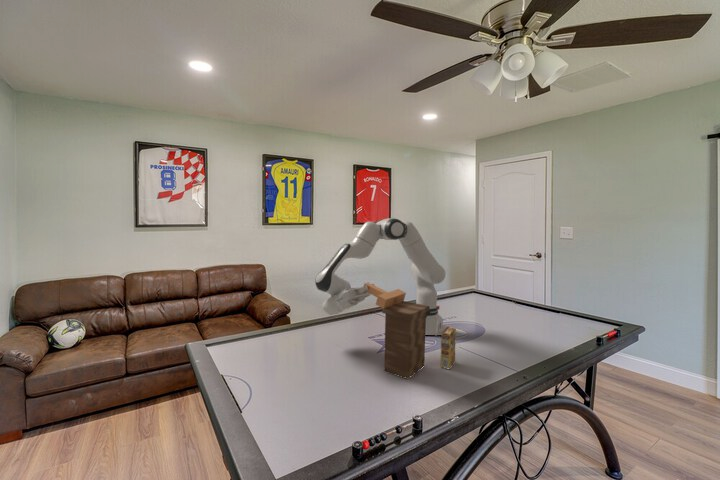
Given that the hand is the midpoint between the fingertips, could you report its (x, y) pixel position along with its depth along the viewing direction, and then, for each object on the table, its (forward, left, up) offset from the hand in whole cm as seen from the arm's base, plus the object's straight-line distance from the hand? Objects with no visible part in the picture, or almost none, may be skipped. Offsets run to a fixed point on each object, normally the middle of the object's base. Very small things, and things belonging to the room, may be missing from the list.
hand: (370, 286), depth 147 cm
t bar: (0, +4, -4) cm, 6 cm away
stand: (0, +18, -32) cm, 37 cm away
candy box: (-15, +30, -32) cm, 47 cm away
